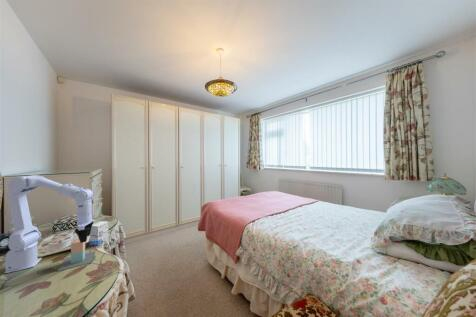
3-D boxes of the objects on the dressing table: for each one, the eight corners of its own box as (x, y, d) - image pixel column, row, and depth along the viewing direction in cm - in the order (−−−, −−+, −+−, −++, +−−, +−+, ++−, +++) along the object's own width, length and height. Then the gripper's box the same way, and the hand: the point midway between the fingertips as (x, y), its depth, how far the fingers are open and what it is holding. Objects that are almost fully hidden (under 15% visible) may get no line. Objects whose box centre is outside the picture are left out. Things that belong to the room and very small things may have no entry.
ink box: (98, 245, 105) (97, 226, 105) (89, 245, 105) (89, 226, 105) (108, 238, 114) (108, 220, 114) (101, 238, 114) (100, 220, 114)
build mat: (57, 271, 82) (57, 270, 82) (66, 258, 92) (66, 257, 92) (90, 263, 88) (90, 262, 88) (95, 251, 98) (95, 251, 98)
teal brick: (70, 263, 87) (70, 253, 87) (73, 259, 91) (73, 249, 91) (82, 261, 89) (82, 251, 89) (85, 256, 93) (84, 247, 93)
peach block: (71, 253, 87) (70, 243, 87) (74, 249, 91) (73, 240, 91) (83, 251, 89) (82, 241, 89) (85, 247, 93) (85, 237, 93)
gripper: (91, 215, 87) (92, 242, 87) (97, 208, 100) (97, 232, 100) (72, 218, 83) (73, 246, 84) (80, 210, 96) (81, 235, 96)
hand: (85, 239), depth 91 cm, fingers open, 7 cm apart
